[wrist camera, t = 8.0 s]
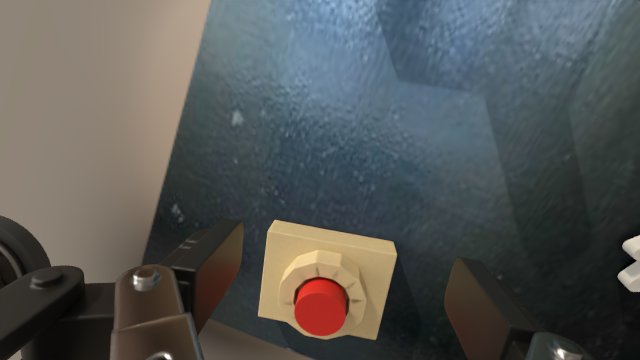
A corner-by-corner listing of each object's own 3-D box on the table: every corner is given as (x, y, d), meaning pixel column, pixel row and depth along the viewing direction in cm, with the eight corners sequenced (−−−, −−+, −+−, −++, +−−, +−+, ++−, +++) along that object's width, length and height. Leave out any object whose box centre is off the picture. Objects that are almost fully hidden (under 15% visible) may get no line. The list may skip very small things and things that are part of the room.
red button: (295, 313, 23) (291, 330, 21) (301, 273, 22) (297, 287, 20) (341, 323, 23) (340, 341, 21) (349, 282, 22) (349, 298, 20)
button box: (265, 299, 27) (250, 332, 23) (274, 219, 25) (260, 241, 21) (374, 321, 27) (377, 358, 23) (393, 241, 25) (401, 267, 21)
